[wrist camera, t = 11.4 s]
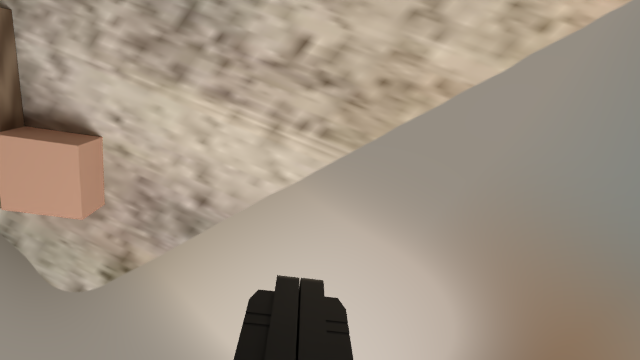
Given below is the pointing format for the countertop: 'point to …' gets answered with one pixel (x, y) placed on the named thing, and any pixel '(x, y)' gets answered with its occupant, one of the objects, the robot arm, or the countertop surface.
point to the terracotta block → (51, 172)
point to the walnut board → (9, 77)
